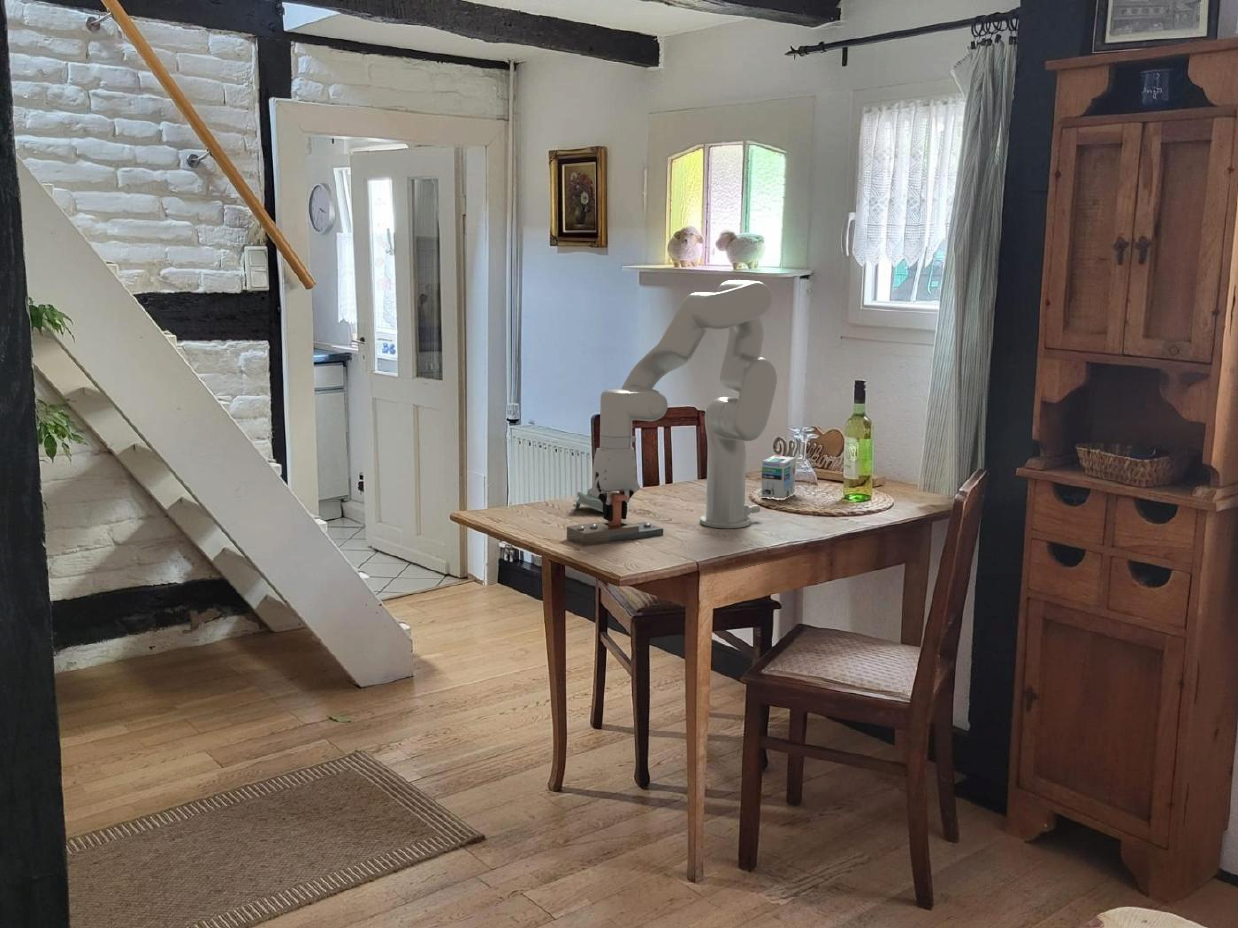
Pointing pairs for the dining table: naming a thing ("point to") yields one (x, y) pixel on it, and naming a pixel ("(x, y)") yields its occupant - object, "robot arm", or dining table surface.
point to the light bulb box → (778, 476)
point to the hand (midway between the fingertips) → (614, 518)
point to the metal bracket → (589, 501)
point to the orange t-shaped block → (617, 509)
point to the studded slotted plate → (610, 532)
